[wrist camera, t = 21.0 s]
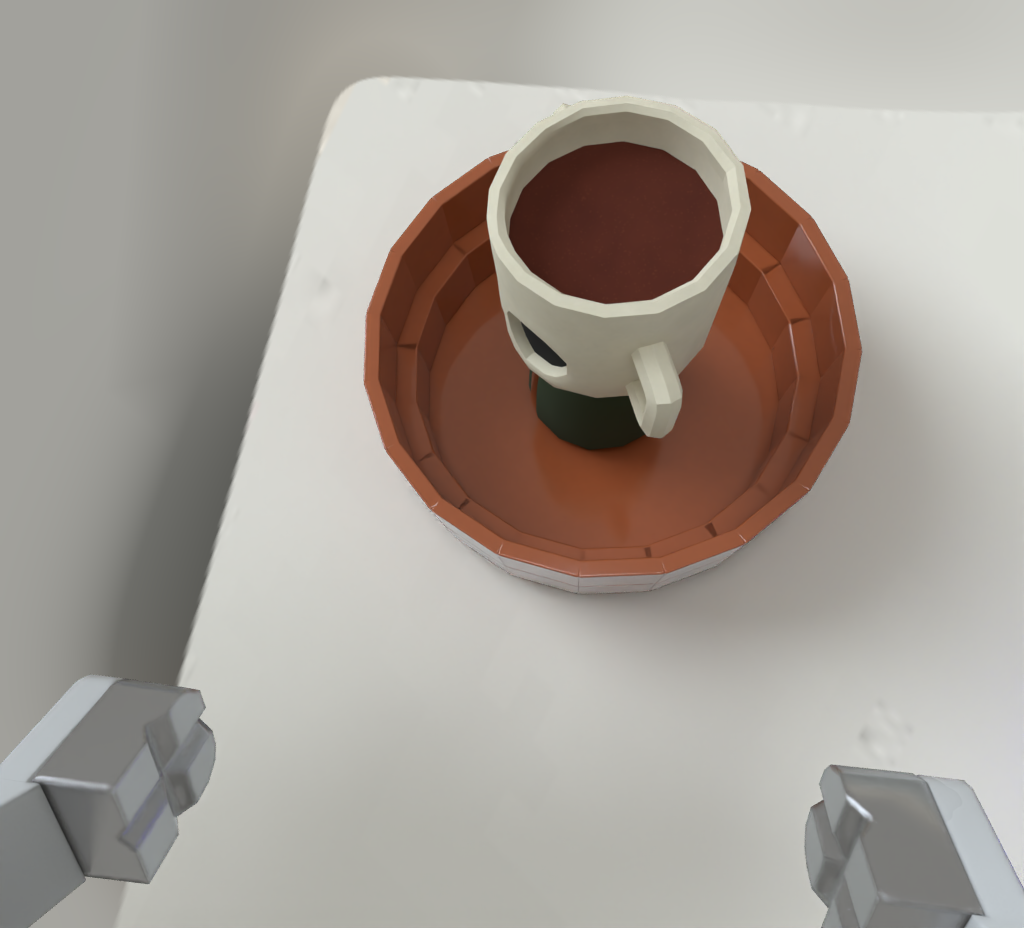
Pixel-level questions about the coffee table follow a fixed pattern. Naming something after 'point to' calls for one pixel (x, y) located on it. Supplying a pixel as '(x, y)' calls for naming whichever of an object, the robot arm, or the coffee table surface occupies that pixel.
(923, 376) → the coffee table surface
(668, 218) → the character mug
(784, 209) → the bowl
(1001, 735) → the coffee table surface
